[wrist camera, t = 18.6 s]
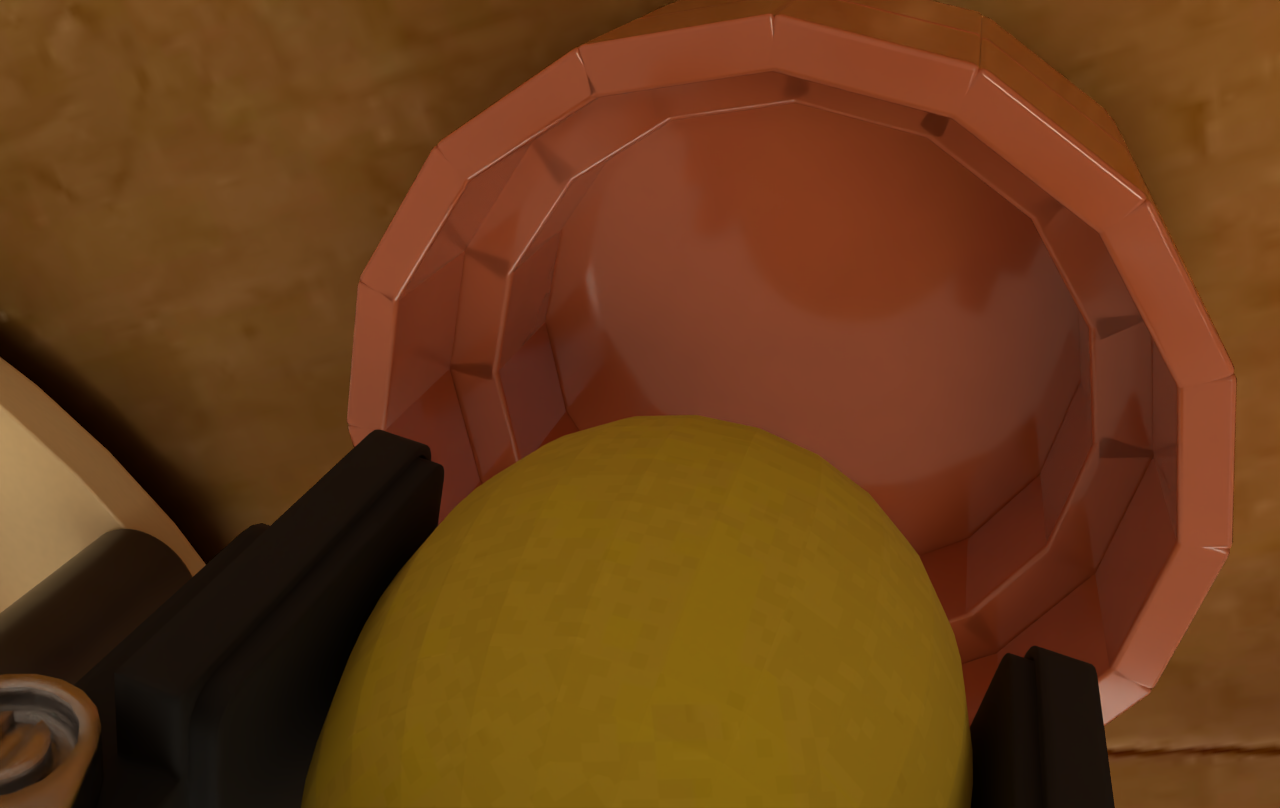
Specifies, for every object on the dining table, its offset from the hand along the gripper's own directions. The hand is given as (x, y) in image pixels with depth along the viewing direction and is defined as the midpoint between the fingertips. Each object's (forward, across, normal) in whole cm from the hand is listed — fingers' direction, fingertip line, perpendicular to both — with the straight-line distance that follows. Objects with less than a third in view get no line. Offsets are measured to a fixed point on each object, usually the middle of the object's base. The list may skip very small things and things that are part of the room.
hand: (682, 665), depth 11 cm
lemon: (+3, 0, 0) cm, 3 cm away
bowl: (+9, 0, 0) cm, 9 cm away
